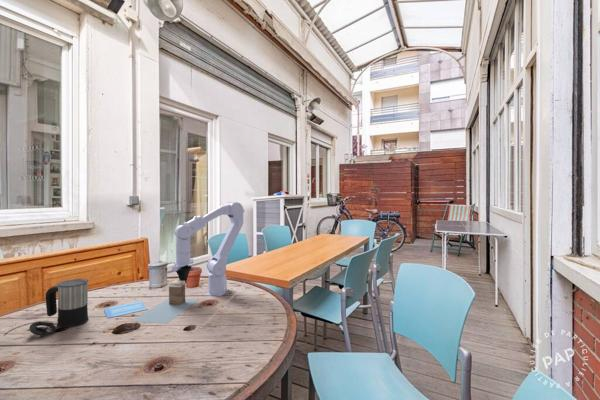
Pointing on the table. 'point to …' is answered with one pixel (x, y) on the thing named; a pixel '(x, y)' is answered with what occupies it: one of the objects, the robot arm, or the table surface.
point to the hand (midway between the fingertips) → (183, 283)
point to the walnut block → (176, 292)
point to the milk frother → (65, 306)
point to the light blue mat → (164, 312)
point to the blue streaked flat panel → (124, 309)
